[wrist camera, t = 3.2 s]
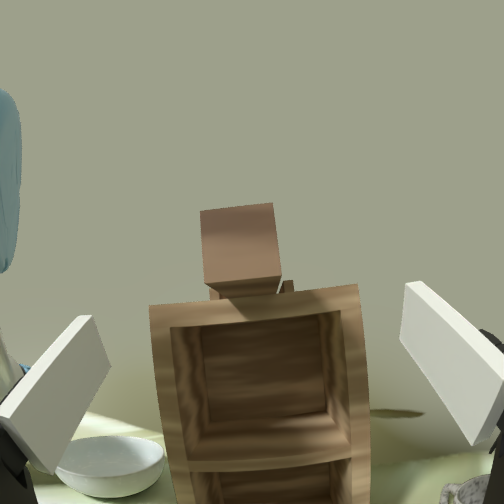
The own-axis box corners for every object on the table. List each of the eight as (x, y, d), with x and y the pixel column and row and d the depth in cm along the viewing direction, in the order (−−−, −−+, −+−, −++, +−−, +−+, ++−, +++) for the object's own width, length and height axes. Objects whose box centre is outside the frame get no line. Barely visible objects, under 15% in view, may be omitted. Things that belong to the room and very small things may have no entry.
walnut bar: (281, 275, 16) (272, 202, 17) (204, 283, 16) (200, 210, 17) (272, 304, 40) (269, 273, 40) (241, 307, 40) (238, 276, 41)
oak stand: (365, 553, 19) (355, 271, 26) (196, 568, 19) (147, 294, 26) (341, 499, 33) (326, 289, 40) (214, 510, 33) (186, 304, 40)
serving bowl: (143, 457, 53) (137, 429, 55) (193, 494, 38) (186, 460, 40) (51, 469, 39) (43, 439, 41) (70, 521, 24) (56, 483, 26)
